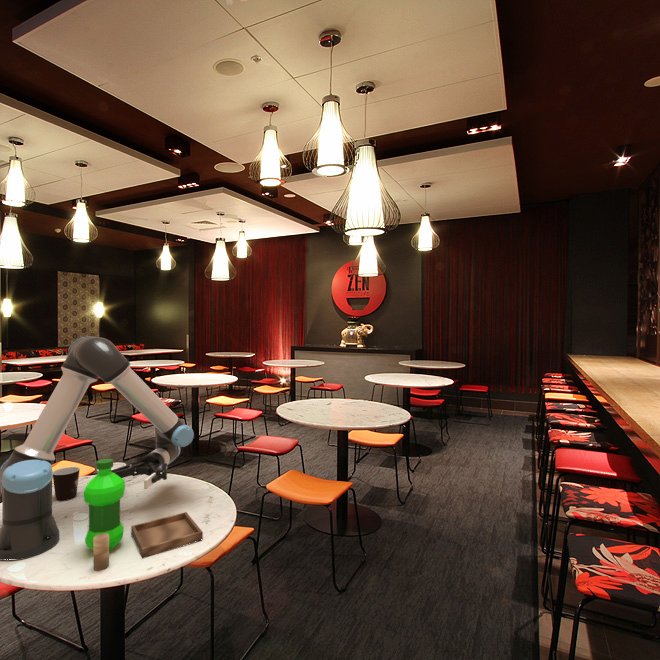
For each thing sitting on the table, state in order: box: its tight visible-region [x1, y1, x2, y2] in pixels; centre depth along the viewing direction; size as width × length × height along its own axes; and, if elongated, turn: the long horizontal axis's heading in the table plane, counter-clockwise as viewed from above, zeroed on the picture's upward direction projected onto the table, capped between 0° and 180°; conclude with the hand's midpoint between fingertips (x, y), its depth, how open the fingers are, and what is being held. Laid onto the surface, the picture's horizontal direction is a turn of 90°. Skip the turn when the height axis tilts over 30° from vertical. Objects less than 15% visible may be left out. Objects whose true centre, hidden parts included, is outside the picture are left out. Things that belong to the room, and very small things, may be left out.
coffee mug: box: [52, 466, 81, 502], centre depth 154 cm, size 12×9×10 cm
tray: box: [130, 511, 204, 559], centre depth 124 cm, size 17×17×2 cm
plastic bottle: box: [83, 458, 126, 552], centre depth 117 cm, size 10×10×25 cm
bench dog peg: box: [92, 533, 110, 572], centre depth 108 cm, size 4×4×8 cm
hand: (123, 484), depth 127 cm, fingers open, 13 cm apart
